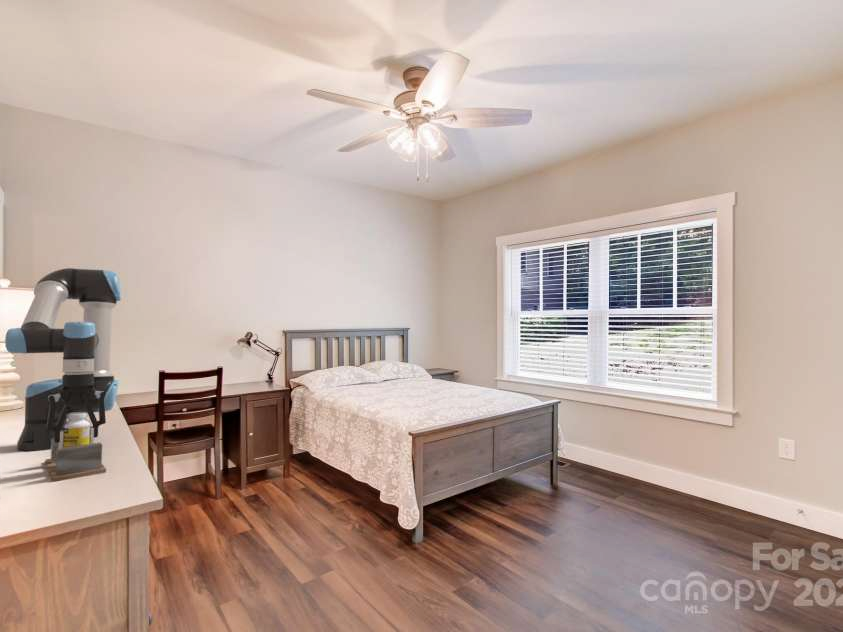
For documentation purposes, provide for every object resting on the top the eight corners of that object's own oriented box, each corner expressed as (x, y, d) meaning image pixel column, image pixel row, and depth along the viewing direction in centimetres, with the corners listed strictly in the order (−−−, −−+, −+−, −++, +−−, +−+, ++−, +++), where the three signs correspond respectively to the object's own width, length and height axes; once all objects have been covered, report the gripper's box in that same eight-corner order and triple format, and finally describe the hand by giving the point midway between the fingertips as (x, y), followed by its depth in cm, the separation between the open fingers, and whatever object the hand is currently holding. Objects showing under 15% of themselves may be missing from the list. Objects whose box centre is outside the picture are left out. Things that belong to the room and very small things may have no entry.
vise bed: (44, 462, 138) (45, 436, 138) (92, 455, 146) (93, 430, 147) (52, 481, 121) (53, 452, 121) (106, 472, 129) (106, 444, 129)
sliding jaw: (49, 458, 139) (49, 436, 139) (88, 452, 146) (89, 431, 146) (51, 463, 134) (52, 440, 134) (92, 457, 141) (92, 435, 141)
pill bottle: (57, 454, 130) (58, 414, 130) (81, 448, 136) (82, 410, 136) (70, 456, 128) (72, 415, 128) (94, 450, 134) (95, 412, 134)
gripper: (36, 376, 123) (33, 460, 122) (119, 372, 137) (117, 447, 136) (34, 374, 129) (31, 454, 128) (114, 370, 142) (112, 443, 141)
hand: (76, 450), depth 132 cm, fingers closed on pill bottle, 6 cm apart
